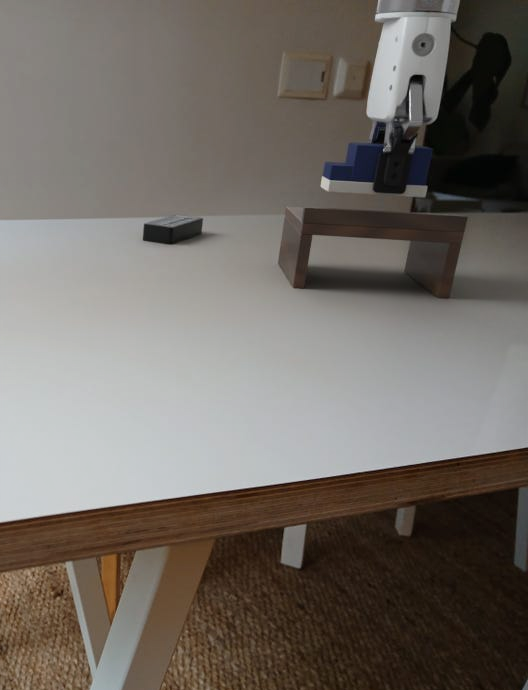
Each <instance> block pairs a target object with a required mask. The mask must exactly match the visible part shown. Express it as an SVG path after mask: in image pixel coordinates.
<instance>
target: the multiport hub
mask: <svg viewBox="0 0 528 690" xmlns="http://www.w3.org/2000/svg"><path fill="white" fill-rule="evenodd" d="M203 222H204V218H203V217H201V216H193V215H184V214H174V215H170V216H167V217H163V218H159V219H156V220H151V221H148V222H144V223H143V229H142V230H143V231H142V241H145V242H153V243H160V244H166V245H173V244H176V243H179V242H182V241H185V240H187V239H190V238H193V237H197V236H199V235H202V232H203Z"/></svg>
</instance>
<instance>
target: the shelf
mask: <svg viewBox="0 0 528 690" xmlns="http://www.w3.org/2000/svg"><path fill="white" fill-rule="evenodd" d="M284 211H285V212H284V217H283V218H284V219H283V224H282V232H281V239H280V246H279V253H278V259H277V265H278V266H279V268H280V269H281V270H282V272H283V274H284V275H285V278H286V279H287V280H288V282H289V283H290V285H291V287H292V288H293V289H305V286H306V280H307V274H308V267H309V261H310V255H311V248H312V243H313V242H312V241H313V236H322V237H323V236H326V237H342V238H344V237H345V238H355V239H358V238H359V239H372V240H373V239H374V240H388V241H389V240H390V241H391V240H392V241H405V242H406V241H408V242H409V246H408V251H407V255H406V260H405V265H404V270H403V272H404V273H405V274H406V275H408V276H409V277H410V278H411V279H413V280H414V281H415V282H417V283H418V284H419V285H421V286H422V287H423V288H425V289H426V290H427V291H428V292H430V293H431V294H432V295H434V296H435V297H436V298H440V299H450V298H451V297H450V296H451V292H452V287H453V284H454V280H455V275H456V270H457V266H458V262H459V257H460V253H461V248H462V244H463V239H464V235H465V232H466V227H467V222H468V218H469V217H468V215H464V214H450V213H449V214H448V213H429V212H411V211H410V212H409V211H391V210H376V209H355V208H337V207H317V206H303V207H302V206H301V207H300V206H285V210H284Z"/></svg>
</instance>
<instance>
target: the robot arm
mask: <svg viewBox="0 0 528 690" xmlns="http://www.w3.org/2000/svg"><path fill="white" fill-rule="evenodd" d="M460 2H461V0H377V5H376V11H375V16H374V21H375V22H376V23H382V24H383V25H382V29H381V33H380V37H379V41H378V46H377V51H376V55H375V59H374V65H373V69H372V74H371V79H370V84H369V90H368V94H367V95H368V96H367V103H366V116H367V117H368V119H370V120H371V123H372V125H371V129H370V132H369V136H368V141H367V143H372V144H384V148H383V153H379V157H378V162H377V167H376V173H375V178H374V183H373V191H374V192H377V193H393V194H403V193H404V192H405V190H406V185H407V181H408V176H409V171H410V166H411V161H412V156H413V153H414V149H415V146H416V140H417V138H418V135H419V133H418V132H419V131H420V129H421V127H422V126H423V125H431V124H433V123H434V122H435V121H436V120H437V118H438V117H439V116H438V115H439V110H440V105H441V100H442V95H443V88H444V82H445V77H446V69H447V64H448V57H449V49H450V40H451V27H452V26H451V25H452V23H454V22H456V21H457V16H458V11H459V7H460Z"/></svg>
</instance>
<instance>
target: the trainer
mask: <svg viewBox="0 0 528 690" xmlns="http://www.w3.org/2000/svg"><path fill="white" fill-rule="evenodd" d="M383 148H384V144H372V143H368V142H352V141H350V142H348V145H347V152H346V156H345V162H338V161H337V162H336V161H325V162H324V166H323V171H322V176H321V180H320V186H319V187H320V188H322V189H323V190H324V191H326V192H328V193H339V194H355V195H357V194H358V195H373V196H374V195H375V196H391V197H408V198H426V196H427V192H428V185H426V183H427V179H428V173H429V169H430V166H431V162H432V161H431V160H432V156H433V151H434V148H431V147H427V146H423V145H415V149H414V153H413V156H412V161H411V166H410V171H409V176H408V181H407V185H406V190H405V192H404V193H403V194H393V193H377V192H374V191H373V183H374V178H375V173H376V167H377V162H378V157H379V153H383Z"/></svg>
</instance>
